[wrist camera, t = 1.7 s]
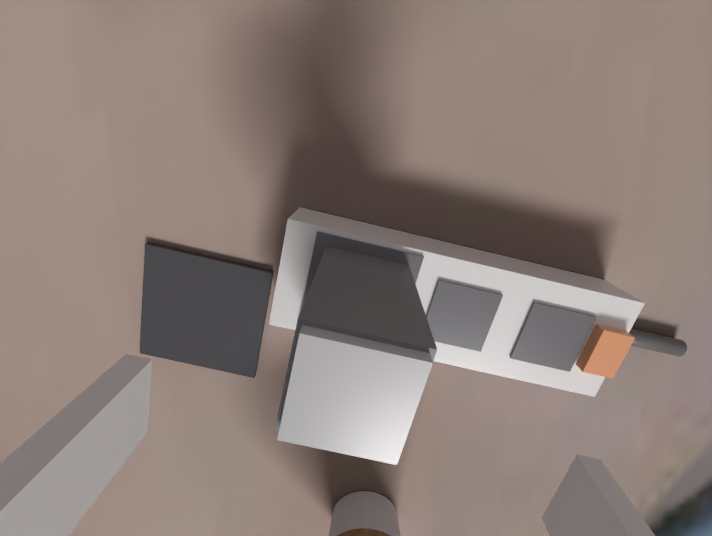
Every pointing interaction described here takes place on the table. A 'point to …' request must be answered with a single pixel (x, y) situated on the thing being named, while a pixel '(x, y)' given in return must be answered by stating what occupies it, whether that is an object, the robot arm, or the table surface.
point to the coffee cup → (364, 516)
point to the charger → (357, 359)
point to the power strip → (483, 304)
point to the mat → (203, 310)
